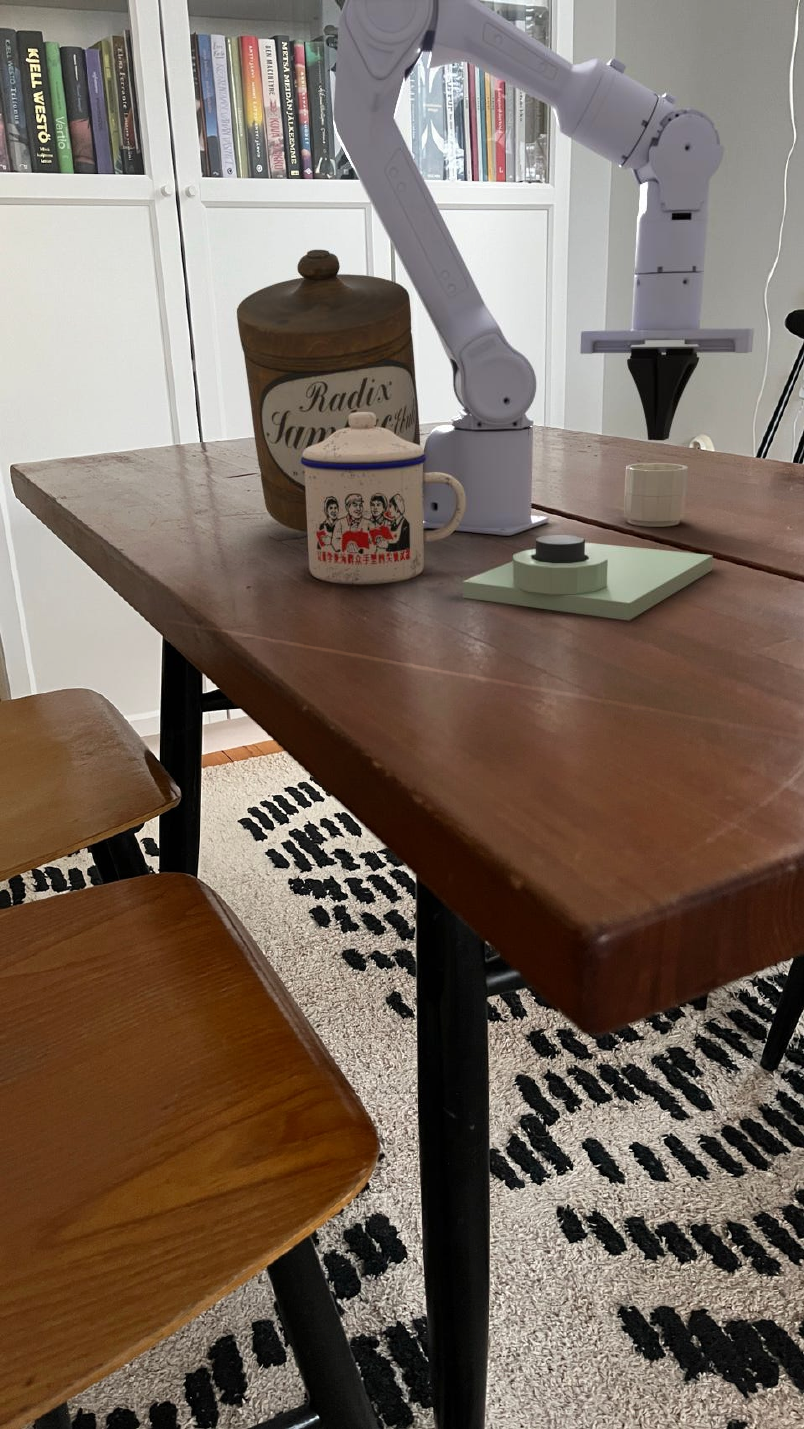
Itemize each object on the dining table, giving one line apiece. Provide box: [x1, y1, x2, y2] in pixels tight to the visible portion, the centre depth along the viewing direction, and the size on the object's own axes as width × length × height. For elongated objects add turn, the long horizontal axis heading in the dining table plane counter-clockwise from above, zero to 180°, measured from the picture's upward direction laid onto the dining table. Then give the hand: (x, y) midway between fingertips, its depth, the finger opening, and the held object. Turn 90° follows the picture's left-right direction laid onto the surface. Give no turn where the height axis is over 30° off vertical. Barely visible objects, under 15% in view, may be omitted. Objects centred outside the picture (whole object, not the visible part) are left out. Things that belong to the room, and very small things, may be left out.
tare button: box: [535, 534, 586, 563], centre depth 70 cm, size 3×3×2 cm
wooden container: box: [236, 249, 421, 533], centre depth 92 cm, size 15×15×22 cm
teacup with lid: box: [301, 412, 466, 586], centre depth 78 cm, size 12×9×12 cm
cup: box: [622, 462, 689, 528], centre depth 96 cm, size 5×6×5 cm
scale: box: [461, 541, 714, 621], centre depth 74 cm, size 16×12×3 cm
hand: (658, 439), depth 94 cm, fingers closed
